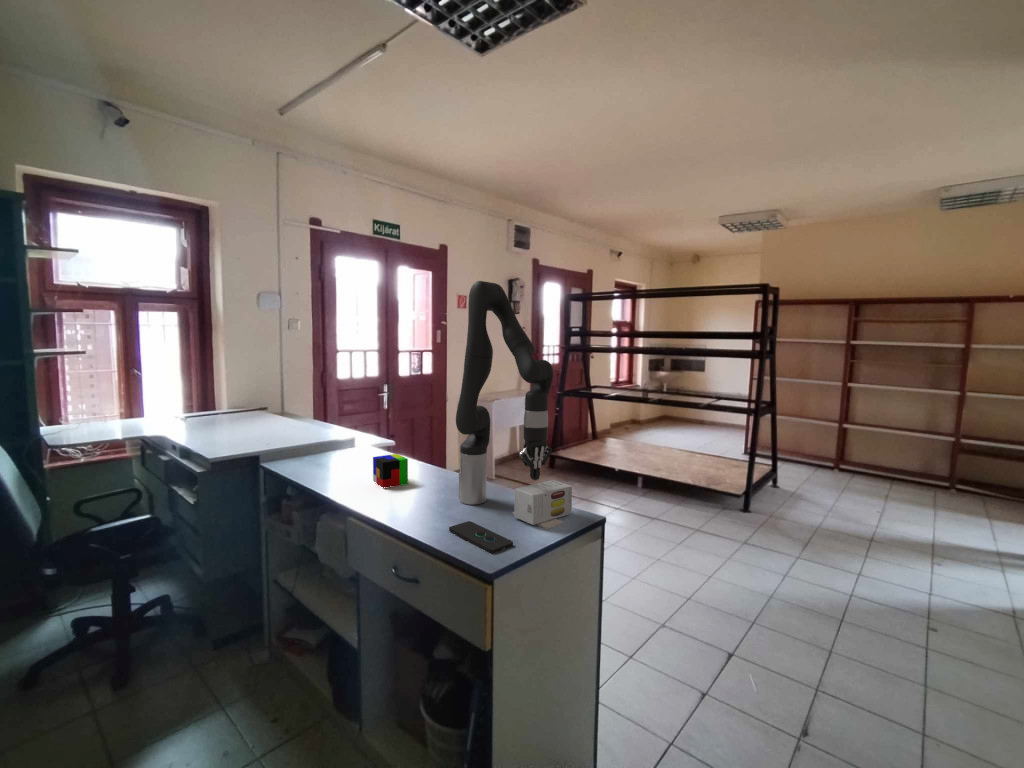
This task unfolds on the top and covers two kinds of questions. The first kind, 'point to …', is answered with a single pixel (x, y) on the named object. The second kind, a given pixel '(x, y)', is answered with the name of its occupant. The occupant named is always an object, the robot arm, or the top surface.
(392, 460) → the puzzle toy
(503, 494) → the top surface
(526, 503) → the supplement box
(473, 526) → the smart home device
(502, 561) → the top surface
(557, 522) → the plain beige rectangular board
